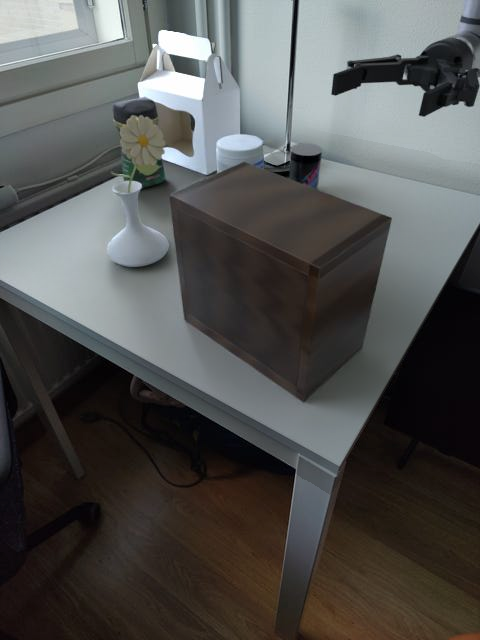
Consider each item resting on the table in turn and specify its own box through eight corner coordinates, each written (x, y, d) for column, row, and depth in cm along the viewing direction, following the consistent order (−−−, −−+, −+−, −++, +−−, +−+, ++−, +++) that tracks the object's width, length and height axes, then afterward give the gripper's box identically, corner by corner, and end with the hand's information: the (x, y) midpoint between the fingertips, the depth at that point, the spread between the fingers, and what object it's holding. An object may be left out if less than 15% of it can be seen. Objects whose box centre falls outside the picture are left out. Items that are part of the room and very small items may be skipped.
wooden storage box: (362, 348, 68) (392, 217, 54) (303, 402, 61) (320, 268, 46) (244, 281, 81) (244, 161, 67) (184, 320, 73) (168, 194, 59)
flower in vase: (117, 279, 82) (84, 136, 65) (102, 247, 89) (69, 113, 73) (186, 261, 86) (171, 122, 69) (167, 232, 94) (149, 101, 77)
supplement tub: (264, 220, 97) (266, 150, 87) (219, 222, 96) (216, 152, 87) (261, 199, 104) (262, 132, 94) (219, 200, 104) (215, 133, 94)
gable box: (241, 159, 121) (240, 35, 102) (207, 175, 113) (199, 45, 95) (181, 139, 132) (170, 24, 113) (146, 154, 124) (128, 33, 106)
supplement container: (289, 202, 103) (292, 155, 96) (286, 188, 108) (288, 143, 101) (319, 201, 103) (324, 155, 96) (314, 187, 108) (319, 143, 101)
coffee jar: (135, 193, 107) (120, 109, 94) (119, 181, 111) (104, 100, 99) (171, 181, 111) (161, 99, 99) (154, 171, 116) (143, 91, 104)
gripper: (521, 106, 69) (458, 146, 57) (375, 76, 82) (300, 104, 71) (543, 48, 64) (478, 80, 53) (383, 27, 77) (304, 48, 66)
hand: (376, 94), depth 62 cm, fingers open, 13 cm apart
